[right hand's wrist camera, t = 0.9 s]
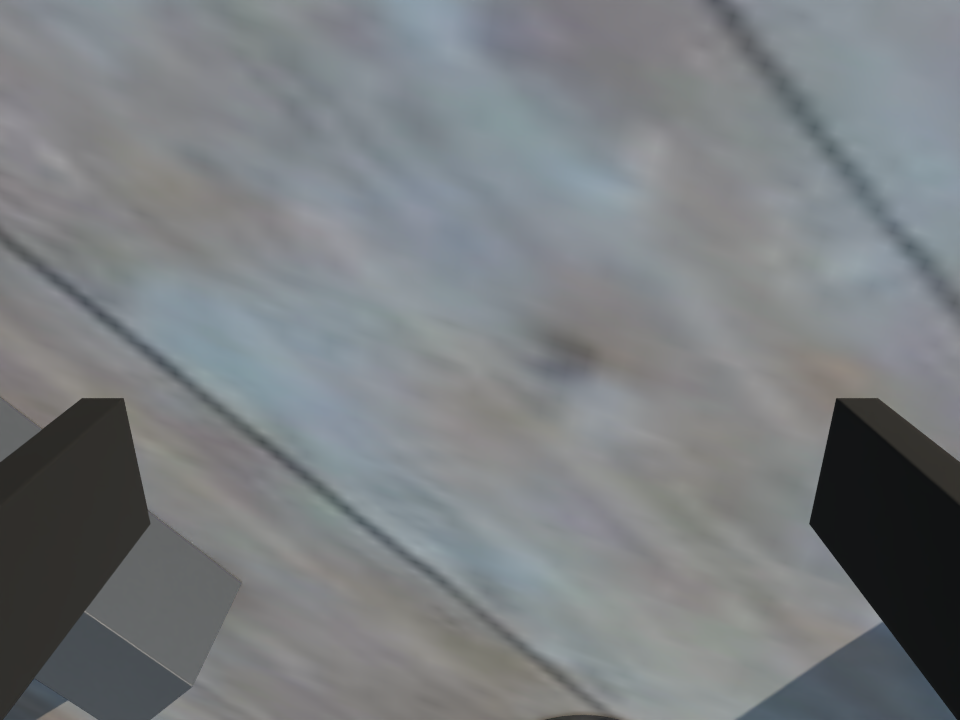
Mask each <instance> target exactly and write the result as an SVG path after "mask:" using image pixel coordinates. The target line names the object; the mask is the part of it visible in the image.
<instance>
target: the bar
mask: <svg viewBox="0 0 960 720" xmlns="http://www.w3.org/2000/svg"><path fill="white" fill-rule="evenodd" d="M41 430H42V429H41V428H40V427H39V426H37V425H36V424H35V423H33V422H32V421H31V420H30V419H28V418H27V417H26V416H24V415H23V414H22V413H20V412H19V411H18V410H17V409H15V408H14V407H13V406H11V405H10V404H9V403H7V402H6V401H5V400H4V399H2V398H1V397H0V462H1V461H2V460H4V459H5V458H6V457H8V456H9V455H10V454H11V453H13V452H14V451H15V450H17V449H18V448H19V447H20V446H22V445H23V444H24V443H25V442H27V441H28V440H29V439H31V438H32V437H33V436H34V435H36V434H37V433H38V432H40V431H41ZM148 514H149V518H150V523H151V524H150V525H149V527H148V528H147V529H146V531H145V532H144V533H143V535H142V536H141V537H140V539H139V540H138V541H137V543H136V544H135V545H134V547H133V548H132V549H131V551H130V552H129V553H128V555H127V556H126V557H125V559H124V560H123V561H122V562H121V564H120V565H119V566H118V568H117V569H116V570H115V572H114V573H113V574H112V576H111V577H110V578H109V580H108V581H107V582H106V584H105V585H104V586H103V588H102V589H101V590H100V592H99V593H98V594H97V596H96V597H95V598H94V600H93V601H92V602H91V604H90V605H89V606H88V608H87V609H86V610H85V611H84V613H83V614H82V615H81V617H80V618H79V619H78V621H77V622H76V623H75V625H74V626H73V627H72V629H71V630H70V631H69V633H68V634H67V635H66V637H65V638H64V639H63V641H62V642H61V643H60V645H59V646H58V647H57V649H56V650H55V651H54V653H53V654H52V655H51V657H50V658H49V659H48V660H47V662H46V663H45V664H44V666H43V667H42V668H41V670H40V671H39V672H38V674H37V675H36V676H35V679H36V680H38V681H39V682H41V683H42V684H44V685H45V686H47V687H49V688H50V689H52V690H53V691H55V692H56V693H58V694H59V695H61V696H63V697H64V698H66V699H67V700H69V701H70V702H72V703H73V704H75V705H76V706H78V707H80V708H81V709H83V710H84V711H86V712H87V713H89V714H90V715H92V716H94V717H95V718H97V719H98V720H151V719H152V718H153V717H154V716H156V715H157V714H158V713H160V712H161V711H162V710H163V709H165V708H166V707H167V706H168V705H170V704H171V703H172V702H174V701H175V700H176V699H177V698H179V697H180V696H181V695H182V694H184V693H185V692H186V691H188V690H189V689H190V688H191V687H193V684H194V682H195V680H196V678H197V676H198V674H199V672H200V670H201V668H202V666H203V663H204V661H205V659H206V657H207V655H208V653H209V651H210V649H211V647H212V644H213V642H214V640H215V638H216V636H217V634H218V632H219V630H220V628H221V626H222V623H223V621H224V619H225V617H226V615H227V613H228V611H229V609H230V607H231V605H232V602H233V600H234V598H235V596H236V594H237V592H238V590H239V588H240V586H241V583H242V582H240V581H239V580H238V579H236V578H235V577H234V576H233V575H231V574H230V573H229V572H227V571H226V570H225V569H223V568H222V567H221V566H220V565H218V564H217V563H216V562H214V561H213V560H212V559H210V558H209V557H208V556H207V555H205V554H204V553H203V552H201V551H200V550H199V549H197V548H196V547H195V546H194V545H192V544H191V543H190V542H188V541H187V540H186V539H184V538H183V537H182V536H181V535H179V534H178V533H177V532H175V531H174V530H173V529H171V528H170V527H169V526H168V525H166V524H165V523H164V522H162V521H161V520H160V519H158V518H157V517H156V516H155V515H153V514H152V513H151V512H149V511H148Z"/></svg>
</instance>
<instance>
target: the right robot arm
mask: <svg viewBox="0 0 960 720" xmlns="http://www.w3.org/2000/svg"><path fill="white" fill-rule="evenodd" d="M150 524H151V523H150V518H149V514H148V509H147V505H146V500H145V495H144V491H143V486H142V481H141V477H140V472H139V467H138V463H137V458H136V453H135V449H134V444H133V440H132V435H131V430H130V426H129V421H128V416H127V412H126V407H125V402H124V398H82V399H81V400H79V401H78V402H77V403H75V404H74V405H73V406H72V407H70V408H69V409H68V410H66V411H65V412H64V413H63V414H61V415H60V416H59V417H58V418H56V419H55V420H54V421H52V422H51V423H50V424H49V425H47V426H46V427H45V428H43V429H42V430H41V431H40V432H38V433H37V434H36V435H34V436H33V437H32V438H31V439H29V440H28V441H27V442H25V443H24V444H23V445H22V446H20V447H19V448H18V449H17V450H15V451H14V452H13V453H11V454H10V455H9V456H8V457H6V458H5V459H4V460H2V461H1V462H0V720H3V719H4V717H5V716H6V715H7V713H8V712H9V711H10V710H11V708H12V707H13V706H14V704H15V703H16V702H17V700H18V699H19V698H20V696H21V695H22V694H23V692H24V691H25V690H26V688H27V687H28V686H29V684H30V683H31V682H32V680H33V679H34V678H35V676H36V675H37V674H38V672H39V671H40V670H41V668H42V667H43V666H44V664H45V663H46V662H47V660H48V659H49V658H50V657H51V655H52V654H53V653H54V651H55V650H56V649H57V647H58V646H59V645H60V643H61V642H62V641H63V639H64V638H65V637H66V635H67V634H68V633H69V631H70V630H71V629H72V627H73V626H74V625H75V623H76V622H77V621H78V619H79V618H80V617H81V615H82V614H83V613H84V611H85V610H86V609H87V608H88V606H89V605H90V604H91V602H92V601H93V600H94V598H95V597H96V596H97V594H98V593H99V592H100V590H101V589H102V588H103V586H104V585H105V584H106V582H107V581H108V580H109V578H110V577H111V576H112V574H113V573H114V572H115V570H116V569H117V568H118V566H119V565H120V564H121V562H122V561H123V560H124V559H125V557H126V556H127V555H128V553H129V552H130V551H131V549H132V548H133V547H134V545H135V544H136V543H137V541H138V540H139V539H140V537H141V536H142V535H143V533H144V532H145V531H146V529H147V528H148V527H149V525H150ZM809 524H810V525H811V527H812V528H813V529H814V531H815V532H816V533H817V535H818V536H819V537H820V539H821V540H822V541H823V543H824V544H825V545H826V547H827V548H828V549H829V551H830V552H831V553H832V555H833V556H834V557H835V559H836V560H837V561H838V562H839V564H840V565H841V566H842V568H843V569H844V570H845V572H846V573H847V574H848V576H849V577H850V578H851V580H852V581H853V582H854V584H855V585H856V586H857V588H858V589H859V590H860V592H861V593H862V594H863V596H864V597H865V598H866V600H867V601H868V602H869V604H870V605H871V606H872V608H873V609H874V610H875V611H876V613H877V614H878V615H879V617H880V618H881V619H882V621H883V622H884V623H885V625H886V626H887V627H888V629H889V630H890V631H891V633H892V634H893V635H894V637H895V638H896V639H897V641H898V642H899V643H900V645H901V646H902V647H903V649H904V650H905V651H906V653H907V654H908V655H909V657H910V658H911V659H912V660H913V662H914V663H915V664H916V666H917V667H918V668H919V670H920V671H921V672H922V674H923V675H924V676H925V678H926V679H927V680H928V682H929V683H930V684H931V686H932V687H933V688H934V690H935V691H936V692H937V694H938V695H939V696H940V698H941V699H942V700H943V702H944V703H945V704H946V706H947V707H948V708H949V710H950V711H951V712H952V713H953V715H954V716H955V717H956V719H957V720H960V462H959V461H958V460H956V459H955V458H954V457H952V456H951V455H950V454H949V453H947V452H946V451H945V450H943V449H942V448H941V447H940V446H938V445H937V444H936V443H935V442H933V441H932V440H931V439H929V438H928V437H927V436H926V435H924V434H923V433H922V432H920V431H919V430H918V429H917V428H915V427H914V426H913V425H911V424H910V423H909V422H908V421H906V420H905V419H904V418H902V417H901V416H900V415H899V414H897V413H896V412H895V411H894V410H892V409H891V408H890V407H888V406H887V405H886V404H885V403H883V402H882V401H881V400H879V399H878V398H836V402H835V407H834V412H833V416H832V421H831V426H830V430H829V435H828V440H827V444H826V449H825V453H824V458H823V463H822V467H821V472H820V477H819V481H818V486H817V491H816V495H815V500H814V505H813V509H812V514H811V518H810V523H809ZM547 720H618V719H613V718H608V717H602V716H592V715H572V716H562V717H556V718H551V719H547Z"/></svg>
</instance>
